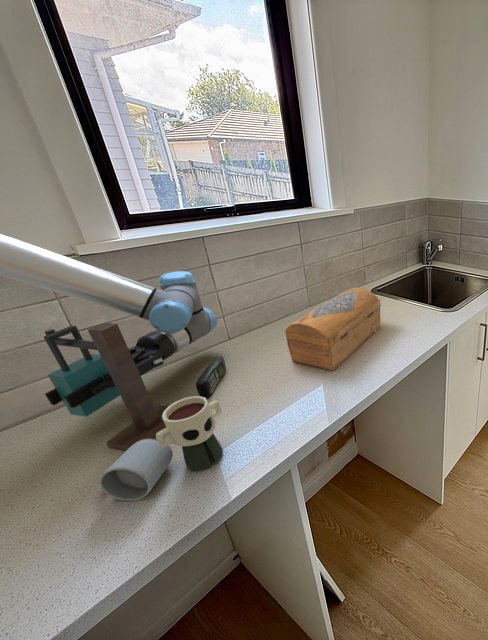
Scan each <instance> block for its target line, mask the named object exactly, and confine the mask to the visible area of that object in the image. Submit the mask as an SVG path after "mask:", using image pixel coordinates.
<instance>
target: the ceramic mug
mask: <svg viewBox="0 0 488 640" xmlns="http://www.w3.org/2000/svg"><path fill="white" fill-rule="evenodd" d="M173 456H174V455H173V450H172V449H171V446H170V445H168V446H166V447H161V446H160V445H159V443H158V441H157V438H154V439H143V440H140V441H138V442H136V443H135V444H134V445H132V446H131V447H130V448H129V449H127V450H126V451H125V450H124V452H123V453H122V455H120V456H119V457H118V458H117V459H116V460H115V461H114V462H113V463H112V464H110V466H109V467H108V468H107V469H105V471H104V472H103V473H102V474H101V476H100V477H99V486H98V488H99V490H101V491H102V492H103V493H105V494H106V495H108V496H109V497H111V498H114V499H117V500H119V501H127V502H132V501H138V500H141V499H143V498H145V497H146V496H147V495H148V494H150V492H151V491H152V489H153V488H154V486H155V485H156V484H157V482H158V481H159V479H160V477H162V475H163V474H164V472H165V471H166V470H167V468H168V467H169V466H170V463H171V462H172V459H173Z"/></svg>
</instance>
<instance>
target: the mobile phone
mask: <svg viewBox="0 0 488 640" xmlns="http://www.w3.org/2000/svg"><path fill="white" fill-rule="evenodd" d="M226 368H227V366H226V361H225V358H224V356H215V357H214V358H213V359H212V360H211V361H210V362H209V363H208V364H207V366H206V367H205V369H204V370H203V371H202V372H201V374H200V375H199V377H198V378H197V380H196V381H195V387H196V391H197V393H198V396H201V397H204V398H206V399H209V398H210V397H211V396H212V394H213V393H214V390H215V389H216V388H217V386H218V384H219V382H220V381H221V380H222V379H223V377H224V375H225V373H226Z"/></svg>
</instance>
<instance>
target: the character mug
mask: <svg viewBox="0 0 488 640" xmlns="http://www.w3.org/2000/svg"><path fill="white" fill-rule="evenodd" d="M167 406H168V407H167V409H166V410H165V411H164V412H163V415H162V419H163V421H164V423H165V425H166V428H164V429H163V430H161V431H159V432H158V433H157V434H156V437H155V439H157V441H158V443H159V445H160V446H161V447H166V446H170V445H171V444H175V445H177V446H179V447H181V449H182V455H183V459H184V462H185V465H186V468H188V469H190V470H192V471H202V470H205V469H207V468H210V467H211V466H212V463H211V461H212V460H213V459H214V462H215V463H217V462H218V461H219V460H220V459H221V458H222V456H223V452H224V449H223V447H222V445H221V443H220V442H219V440H218V438H217V437H216V435H215V434H214V432H215V430H216V425H217V421H216V419H215V418H216V417H218V416H220V415H221V414H222V407H221V404H220V401H219V400H213V401H211V402H209V401H208V399H207V398H204V397H201V396H199V395H197V396H196V395H194V396H188V397H184V398H182V399H179V400H177V401H175V402H173V403H171V404H170V405H167ZM212 408H214V409H215V411H212ZM167 434H169V438H167V439H165V437H164V436H165V435H167Z"/></svg>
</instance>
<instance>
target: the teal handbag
mask: <svg viewBox="0 0 488 640" xmlns="http://www.w3.org/2000/svg"><path fill="white" fill-rule="evenodd" d="M70 333H71V335H72V337H73V339H77V340H84V338H83V337H82V335H81V333H80V331H79V329H78V327H77V325H69V326H67V327H64V328H62V329H58V330H55V332H54V333H51V334H49V335H46V334H45V335H44V336H43V339H44V341H45V342H46V344H47V346H48V348H49V350H50V352H51V353H52V355H53V357H54V358H55V360H56V362H57V363H58V366H59V367H60V368H59V369H56V370H55V371H53V372H51V373H48V374H47V377H48V378H49V381H50V382H51V383H52V385H53V387H54V389H55V388H56V390H57V392H58V393H59V395H60V397H61V399H62V400H63V401H62V402H63V403H64V405H65V407H66V409H67V410H68V412H69V414H70V415H72V416H78V417H84V418H85V417H88V416H90V415H92V414H93V413H95V412H97V411H99V409H101V408H103V407H104V406H106V405H108V404H109V403H111V402H112V401H113V400H115V399H117V398H119V397H121V396H120V394H119V392H118V390H117V388H116V386H114V387H111V388H107V389H105V390H104V391H102V392H100V393H98V394H96V395H95V396H93V397H91V398H90V399H88V400H86V401H85V402H83V403H81V404H80V405H78V406H76V407H75V408H71V407H70V406H69V404H68V402H67V400H66V399H65V396H66V395H68V394H70V393H72V392H74V391H76V390H77V389H79V388H81V387H83V386H85V385H86V384H88V383H90V382H92V381H94V380H95V379H97V378H99V377H100V378H102V379H103V380H105V379H104V377H103V374H104V375H105V374H109V372H108V370H107V368H106V366H105V364H104V362H103V360H102V358H101V356H100V354H95V353H91V352H90V351H89V350H90V349H84V348H79V351H80V352H81V354H82V356H83V357H82V358H79V359H78V360H75V361H73V362H71V363H67V361H66V359H65V357H64V356H63V354H62V352H61V350H60V348H59V346H57V345H56V343H55V341H54V340H53V339H56V338H58V337H59V338H62V337H64V336H65V335H68V334H70Z"/></svg>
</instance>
